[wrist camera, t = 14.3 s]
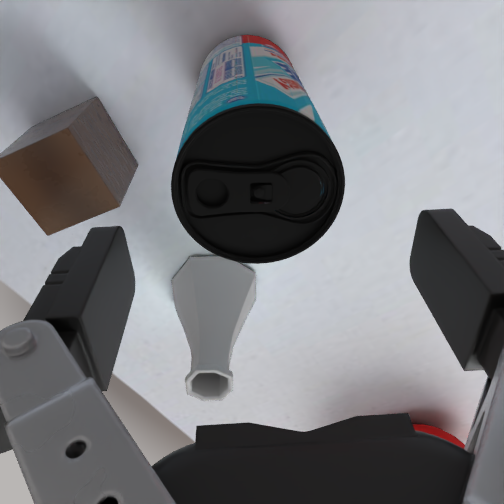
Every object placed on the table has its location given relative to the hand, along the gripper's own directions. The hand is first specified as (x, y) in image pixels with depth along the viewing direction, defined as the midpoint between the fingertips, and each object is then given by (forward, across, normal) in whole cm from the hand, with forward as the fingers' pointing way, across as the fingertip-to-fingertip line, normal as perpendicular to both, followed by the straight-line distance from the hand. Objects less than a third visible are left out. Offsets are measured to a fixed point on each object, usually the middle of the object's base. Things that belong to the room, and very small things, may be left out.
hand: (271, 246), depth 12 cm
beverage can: (+19, 0, 0) cm, 19 cm away
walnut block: (+18, +11, +4) cm, 22 cm away
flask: (+19, +4, +16) cm, 25 cm away
